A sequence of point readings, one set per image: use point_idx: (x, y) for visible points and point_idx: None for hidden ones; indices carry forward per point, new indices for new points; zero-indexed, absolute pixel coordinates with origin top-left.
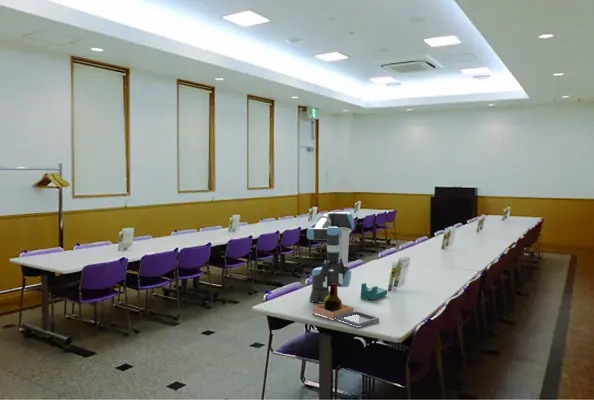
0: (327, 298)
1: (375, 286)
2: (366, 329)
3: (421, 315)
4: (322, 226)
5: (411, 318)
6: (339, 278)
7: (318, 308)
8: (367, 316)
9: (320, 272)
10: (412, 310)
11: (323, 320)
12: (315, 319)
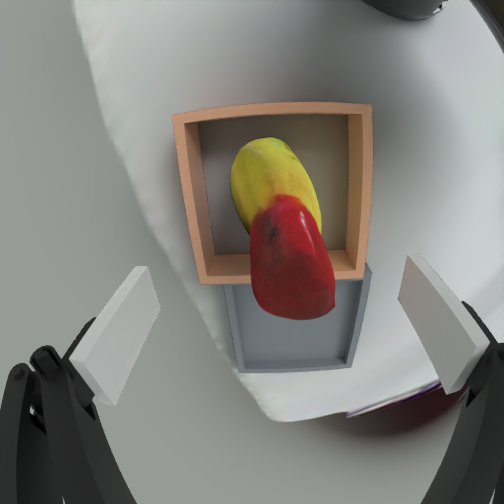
0: (237, 200)
1: None
2: (254, 377)
3: None
4: None
5: (431, 367)
6: (435, 305)
7: (180, 170)
8: (351, 327)
9: (4, 397)
10: (496, 320)
11: (176, 233)
12: (152, 200)
